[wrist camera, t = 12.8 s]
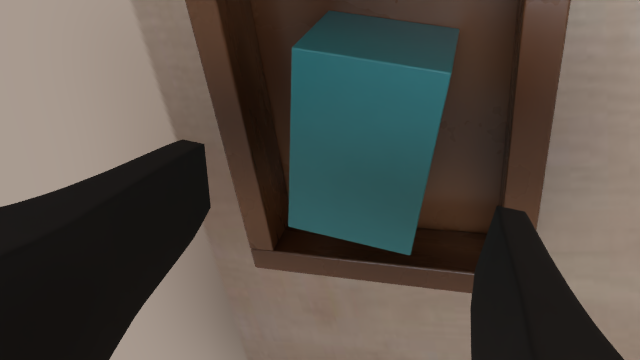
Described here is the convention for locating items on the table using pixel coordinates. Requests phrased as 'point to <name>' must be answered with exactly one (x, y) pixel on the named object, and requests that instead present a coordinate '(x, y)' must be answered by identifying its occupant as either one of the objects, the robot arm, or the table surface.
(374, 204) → the teal rectangular block
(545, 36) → the holder
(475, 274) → the robot arm
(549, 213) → the table surface
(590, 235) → the table surface
